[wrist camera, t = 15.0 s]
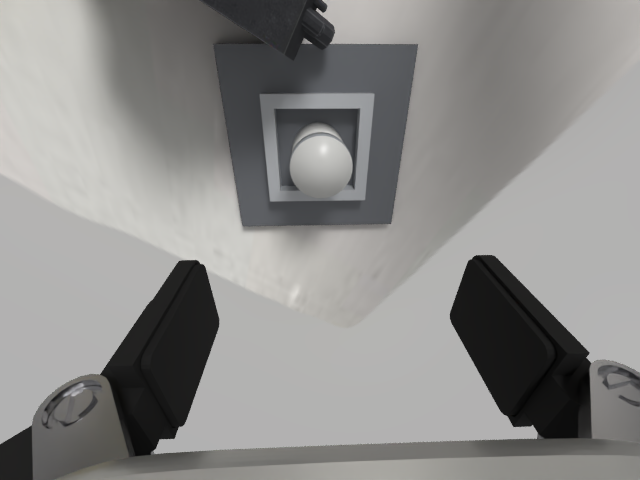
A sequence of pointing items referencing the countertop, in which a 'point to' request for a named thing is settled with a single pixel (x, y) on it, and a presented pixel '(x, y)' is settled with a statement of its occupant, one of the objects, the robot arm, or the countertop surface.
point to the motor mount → (308, 107)
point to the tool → (279, 22)
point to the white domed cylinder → (320, 161)
